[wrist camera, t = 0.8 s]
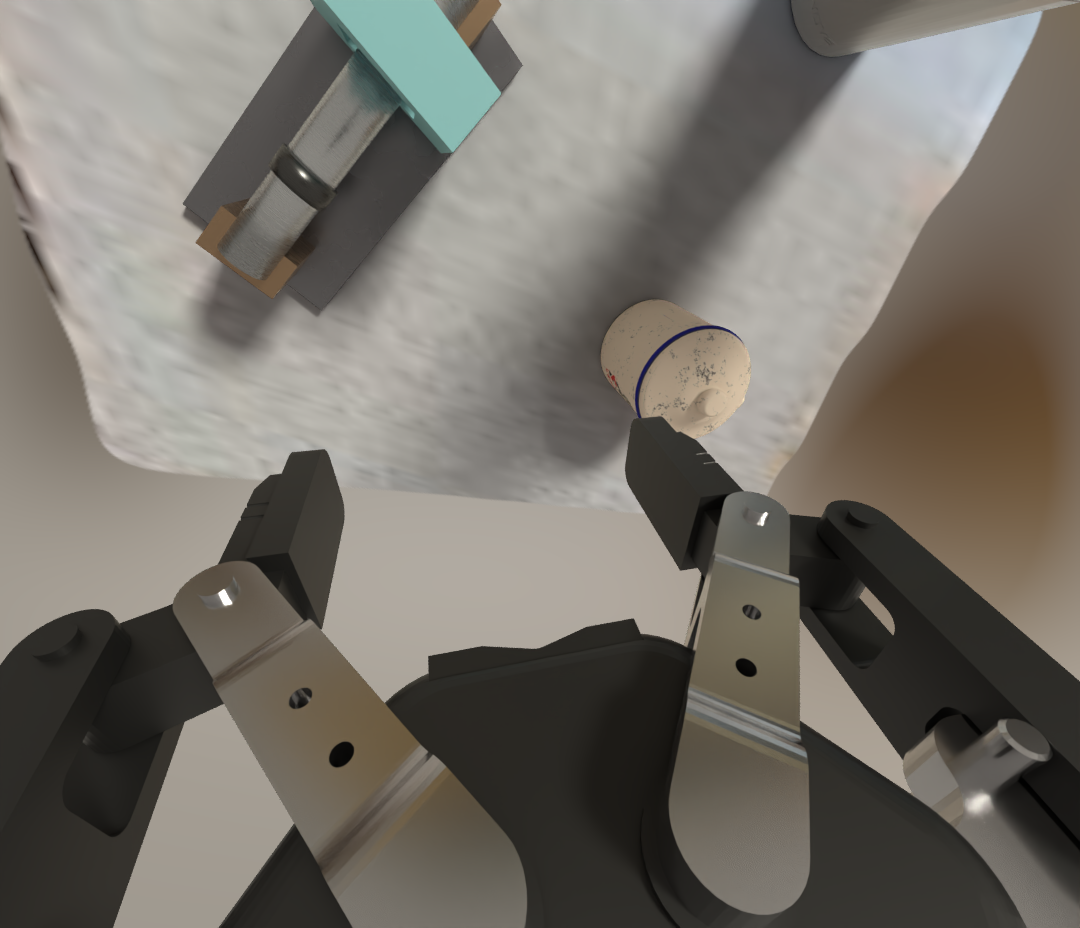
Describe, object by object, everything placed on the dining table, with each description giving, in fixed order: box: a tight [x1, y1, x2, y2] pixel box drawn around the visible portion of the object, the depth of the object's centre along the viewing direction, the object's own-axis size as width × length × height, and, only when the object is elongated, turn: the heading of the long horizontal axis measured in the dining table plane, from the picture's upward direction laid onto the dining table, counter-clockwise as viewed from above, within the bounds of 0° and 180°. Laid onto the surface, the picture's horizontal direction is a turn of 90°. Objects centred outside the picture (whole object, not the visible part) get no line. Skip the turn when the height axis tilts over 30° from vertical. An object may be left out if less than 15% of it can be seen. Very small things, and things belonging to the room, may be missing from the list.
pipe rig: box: [183, 0, 523, 310], centre depth 24 cm, size 20×9×8 cm, turn 133°
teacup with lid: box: [601, 299, 751, 439], centre depth 36 cm, size 12×9×12 cm
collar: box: [310, 0, 501, 153], centre depth 21 cm, size 3×8×9 cm, turn 43°
